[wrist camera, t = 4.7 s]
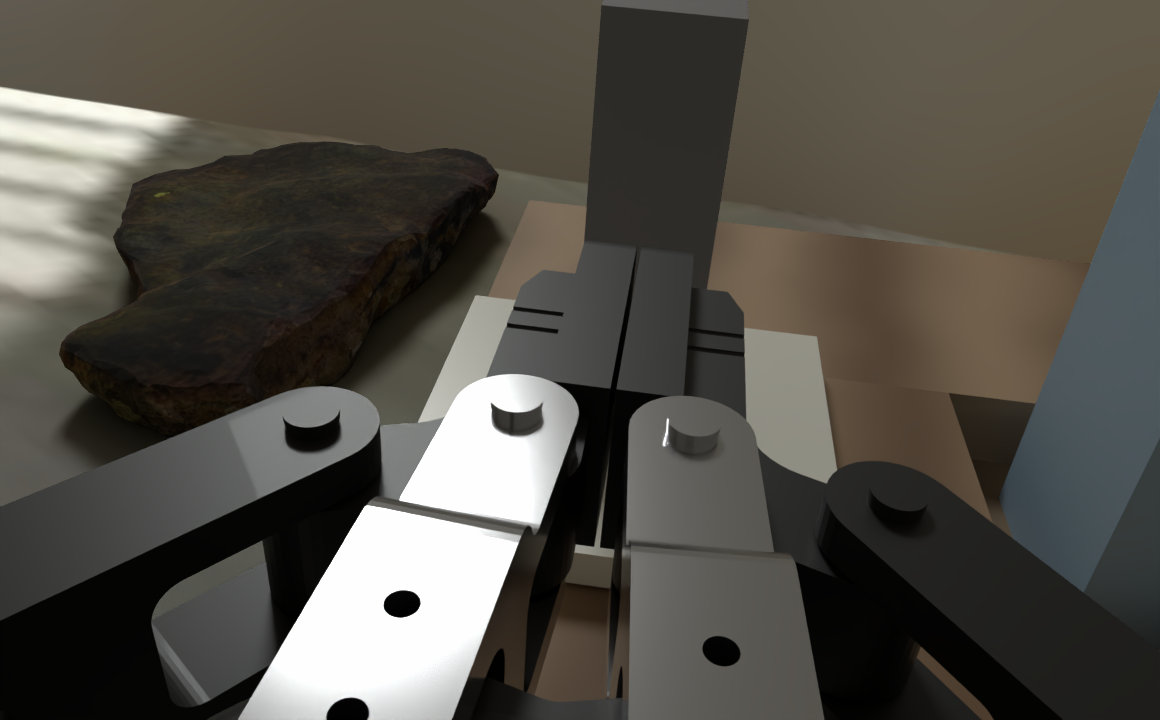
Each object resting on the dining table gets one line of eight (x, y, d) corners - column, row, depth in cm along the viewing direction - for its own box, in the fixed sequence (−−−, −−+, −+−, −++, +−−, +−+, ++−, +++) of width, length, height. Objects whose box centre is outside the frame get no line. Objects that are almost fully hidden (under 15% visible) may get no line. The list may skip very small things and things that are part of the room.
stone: (248, 479, 24) (235, 382, 23) (-106, 376, 27) (-140, 282, 25) (511, 222, 39) (513, 152, 37) (263, 171, 42) (256, 103, 40)
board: (276, 916, 15) (258, 825, 14) (527, 264, 35) (529, 200, 33) (1688, 1156, 14) (1821, 1081, 13) (1130, 336, 33) (1159, 271, 32)
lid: (373, 554, 19) (337, 36, 13) (476, 321, 26) (478, -70, 21) (845, 622, 18) (1007, 104, 13) (810, 362, 25) (902, -31, 20)
